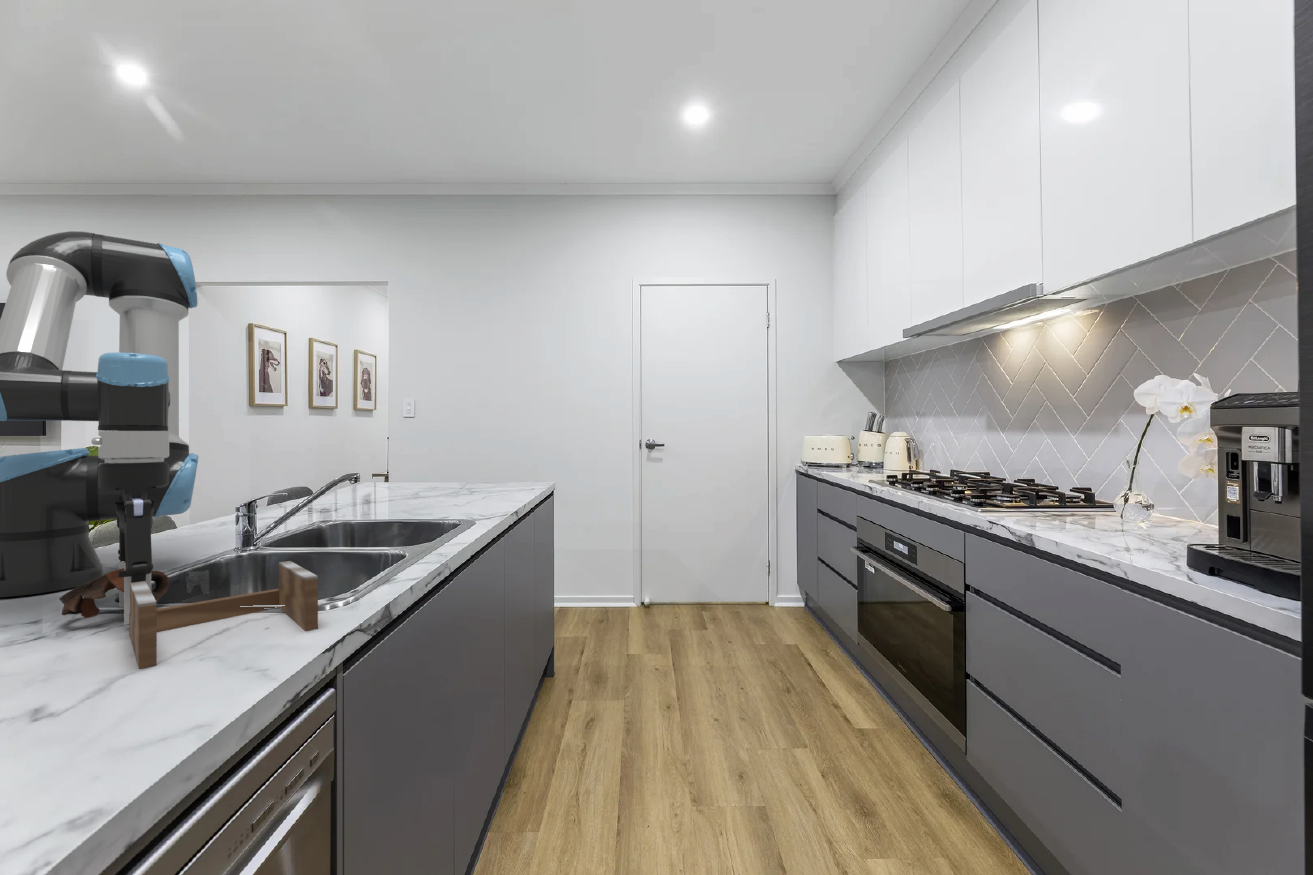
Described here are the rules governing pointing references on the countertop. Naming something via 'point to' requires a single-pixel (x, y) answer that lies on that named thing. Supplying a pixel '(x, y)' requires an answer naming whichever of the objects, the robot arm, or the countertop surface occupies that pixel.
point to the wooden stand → (220, 609)
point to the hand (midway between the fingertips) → (134, 612)
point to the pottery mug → (96, 589)
